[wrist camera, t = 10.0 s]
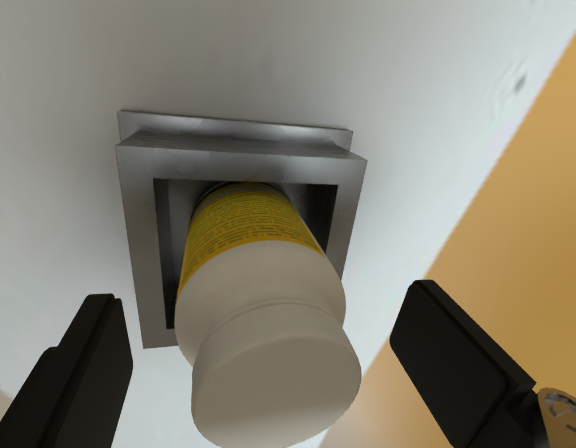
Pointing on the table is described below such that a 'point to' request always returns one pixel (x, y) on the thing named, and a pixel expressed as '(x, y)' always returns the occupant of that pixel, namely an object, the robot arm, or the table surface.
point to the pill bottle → (261, 322)
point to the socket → (211, 171)
